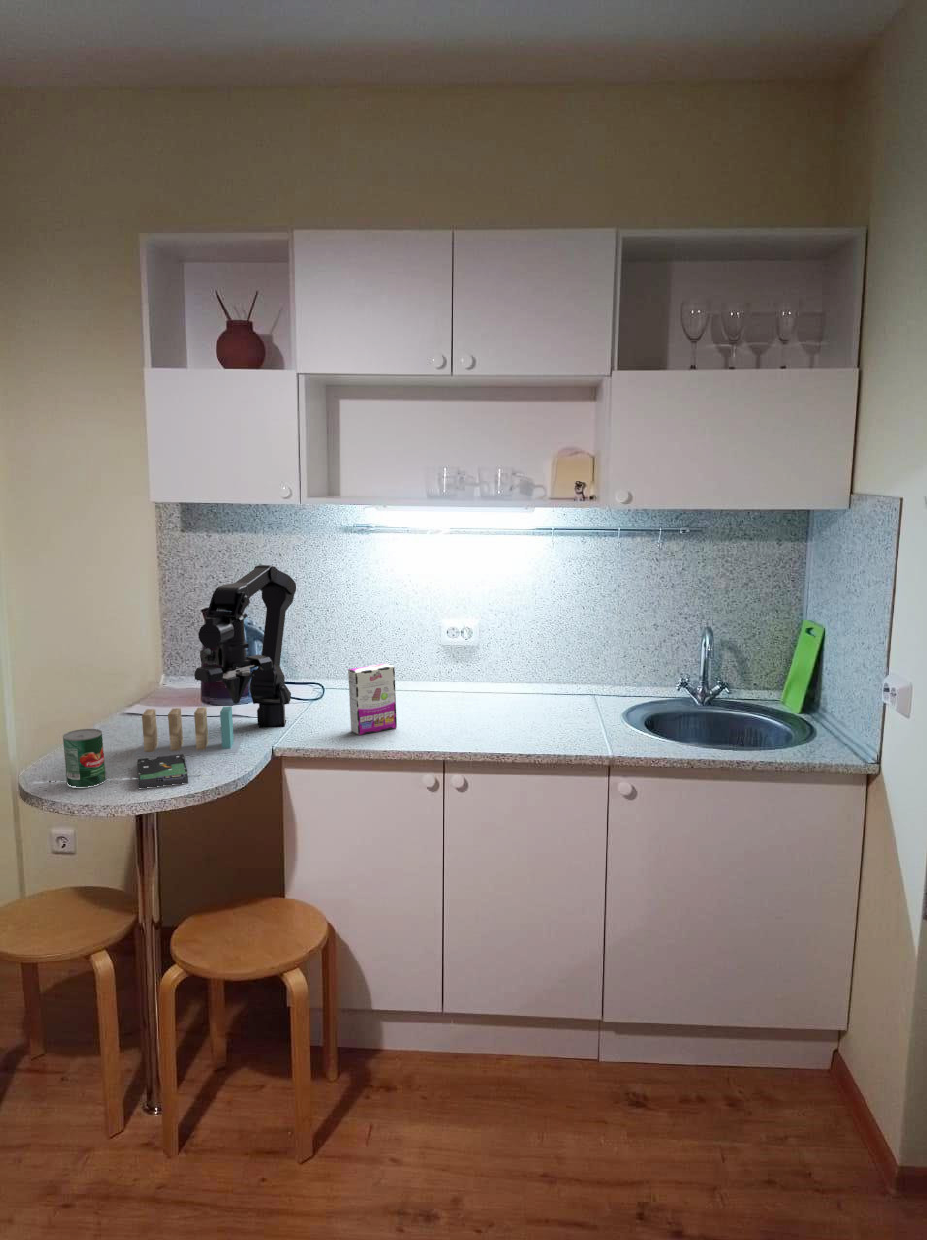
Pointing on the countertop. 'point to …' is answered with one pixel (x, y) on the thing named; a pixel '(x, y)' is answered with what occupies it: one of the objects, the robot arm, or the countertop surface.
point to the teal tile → (226, 727)
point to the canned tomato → (84, 757)
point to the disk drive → (162, 771)
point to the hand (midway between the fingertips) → (236, 703)
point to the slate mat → (190, 748)
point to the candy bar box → (372, 698)
